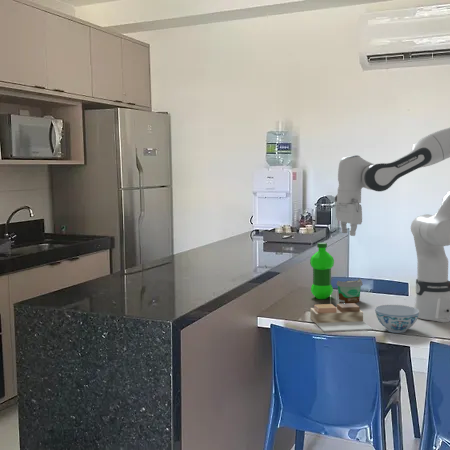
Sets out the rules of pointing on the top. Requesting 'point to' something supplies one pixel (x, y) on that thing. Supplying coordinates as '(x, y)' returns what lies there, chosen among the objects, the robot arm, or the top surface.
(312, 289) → the plastic bottle
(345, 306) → the walnut tile
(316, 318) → the birch deck
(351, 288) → the food container
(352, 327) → the grey mat
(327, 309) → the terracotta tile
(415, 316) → the chinaware
